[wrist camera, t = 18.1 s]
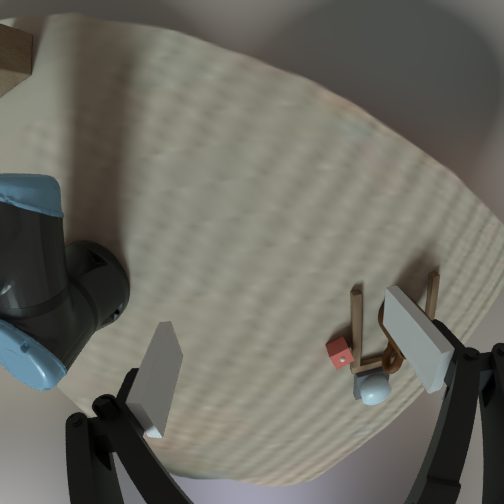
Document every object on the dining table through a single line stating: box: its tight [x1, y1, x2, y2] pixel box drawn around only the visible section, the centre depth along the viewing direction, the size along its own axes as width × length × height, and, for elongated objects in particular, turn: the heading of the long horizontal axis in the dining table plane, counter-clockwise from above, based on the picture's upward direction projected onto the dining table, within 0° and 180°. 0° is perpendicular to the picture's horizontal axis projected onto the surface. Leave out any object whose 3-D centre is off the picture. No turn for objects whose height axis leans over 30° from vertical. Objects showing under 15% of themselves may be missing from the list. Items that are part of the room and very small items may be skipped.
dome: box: [359, 374, 391, 405], centre depth 48 cm, size 6×6×3 cm
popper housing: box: [353, 366, 389, 400], centre depth 50 cm, size 7×7×2 cm
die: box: [326, 336, 355, 369], centre depth 46 cm, size 4×4×4 cm
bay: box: [350, 272, 440, 374], centre depth 46 cm, size 17×18×2 cm
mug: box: [378, 295, 431, 374], centre depth 42 cm, size 12×8×9 cm, turn 159°
